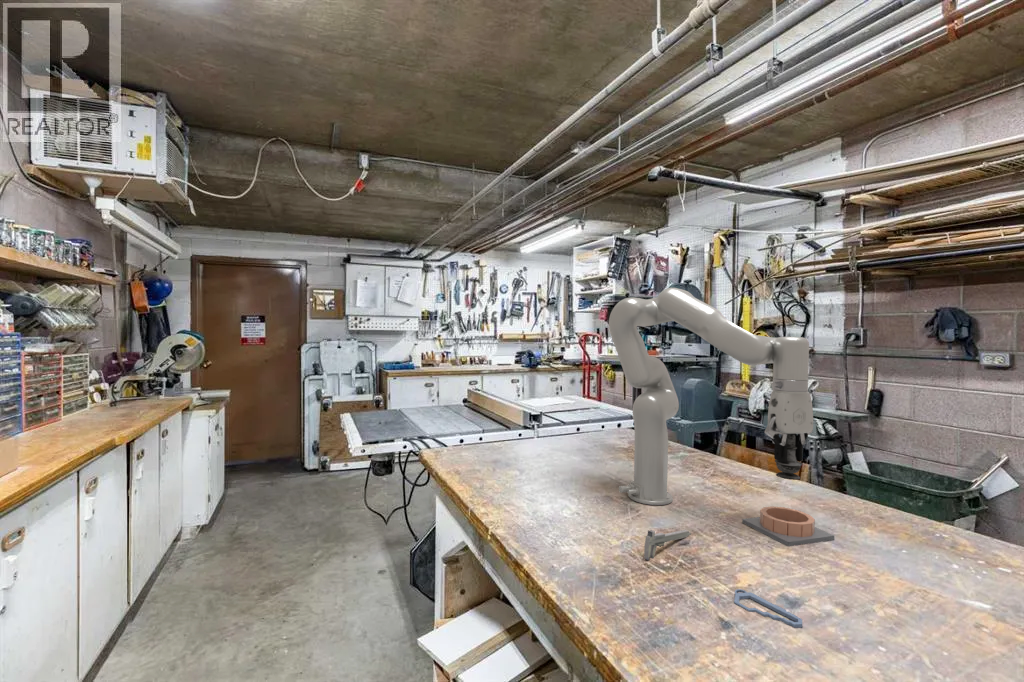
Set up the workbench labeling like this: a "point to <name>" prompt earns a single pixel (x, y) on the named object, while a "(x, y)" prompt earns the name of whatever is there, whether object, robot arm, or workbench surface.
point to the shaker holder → (787, 526)
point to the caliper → (660, 541)
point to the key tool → (774, 607)
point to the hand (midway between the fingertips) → (788, 459)
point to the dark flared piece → (789, 461)
